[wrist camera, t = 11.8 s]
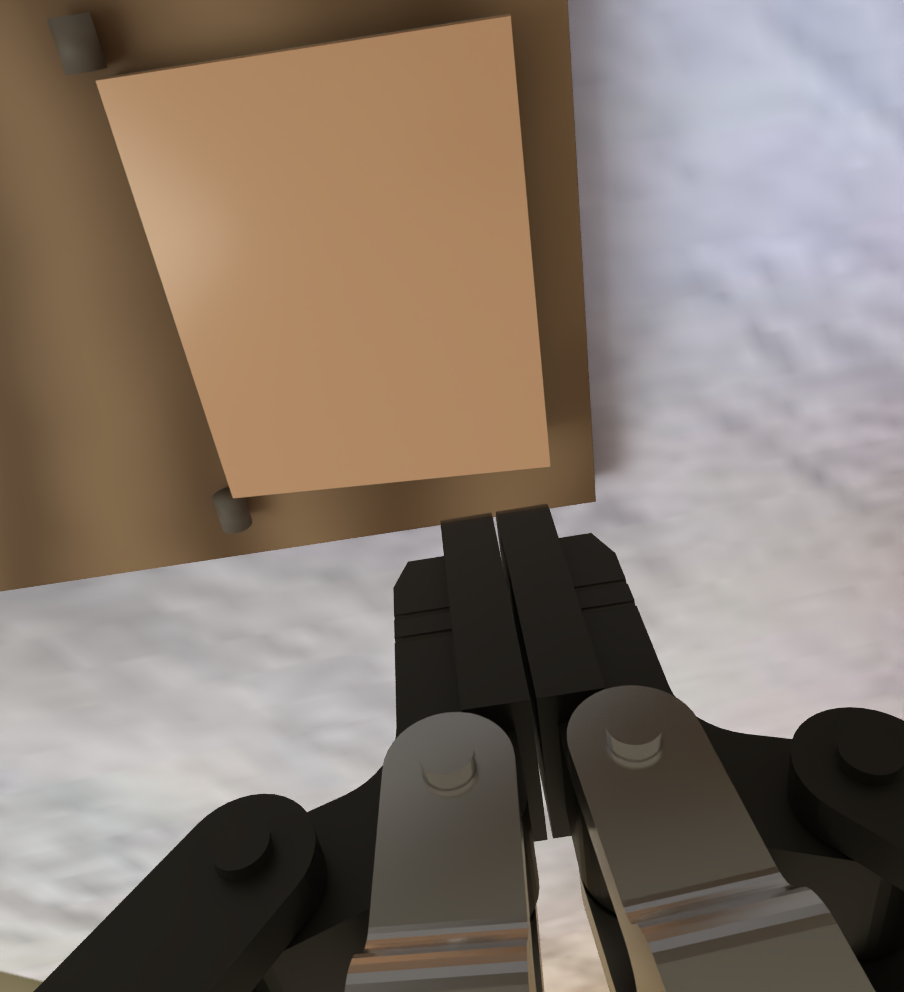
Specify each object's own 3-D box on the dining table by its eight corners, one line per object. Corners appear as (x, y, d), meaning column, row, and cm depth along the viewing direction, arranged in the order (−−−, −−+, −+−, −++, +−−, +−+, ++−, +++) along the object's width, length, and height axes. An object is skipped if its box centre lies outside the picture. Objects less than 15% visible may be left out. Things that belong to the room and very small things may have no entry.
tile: (95, 80, 20) (114, 74, 21) (233, 498, 27) (242, 478, 28) (510, 15, 19) (509, 12, 20) (550, 466, 26) (548, 447, 27)
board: (-66, 578, 31) (-101, 624, 29) (-396, 16, 21) (-487, 21, 19) (587, 479, 30) (602, 518, 28) (548, -141, 21) (567, -155, 19)
